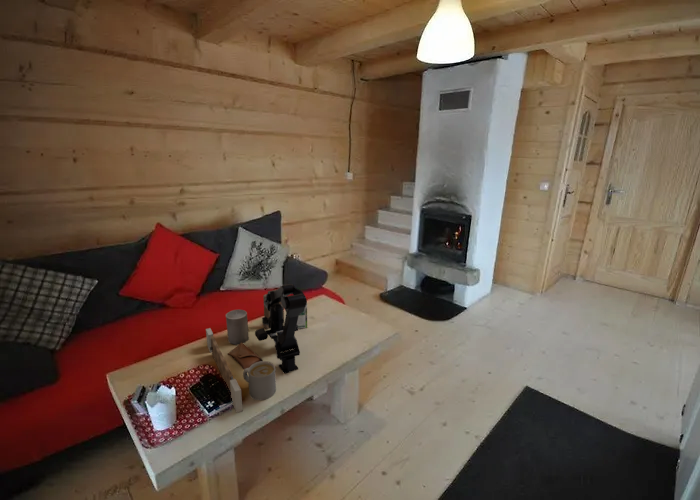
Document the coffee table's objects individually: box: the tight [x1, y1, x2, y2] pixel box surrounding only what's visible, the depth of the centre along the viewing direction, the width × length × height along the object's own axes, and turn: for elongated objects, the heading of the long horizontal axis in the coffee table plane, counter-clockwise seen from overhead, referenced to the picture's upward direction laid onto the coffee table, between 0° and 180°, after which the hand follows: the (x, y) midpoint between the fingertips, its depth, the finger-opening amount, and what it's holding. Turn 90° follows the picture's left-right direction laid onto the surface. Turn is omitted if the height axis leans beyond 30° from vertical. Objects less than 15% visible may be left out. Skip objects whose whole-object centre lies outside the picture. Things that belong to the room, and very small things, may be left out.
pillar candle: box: [225, 309, 250, 346], centre depth 166 cm, size 10×10×15 cm
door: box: [210, 335, 234, 392], centre depth 141 cm, size 32×2×9 cm, turn 33°
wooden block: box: [262, 293, 285, 330], centre depth 180 cm, size 4×11×18 cm, turn 135°
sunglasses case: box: [227, 342, 264, 371], centre depth 153 cm, size 18×7×7 cm, turn 45°
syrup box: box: [297, 304, 308, 330], centre depth 180 cm, size 6×6×14 cm
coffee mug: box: [242, 360, 277, 401], centre depth 133 cm, size 13×10×10 cm
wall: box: [205, 327, 243, 414], centre depth 141 cm, size 49×2×9 cm, turn 33°
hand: (277, 346), depth 160 cm, fingers closed
